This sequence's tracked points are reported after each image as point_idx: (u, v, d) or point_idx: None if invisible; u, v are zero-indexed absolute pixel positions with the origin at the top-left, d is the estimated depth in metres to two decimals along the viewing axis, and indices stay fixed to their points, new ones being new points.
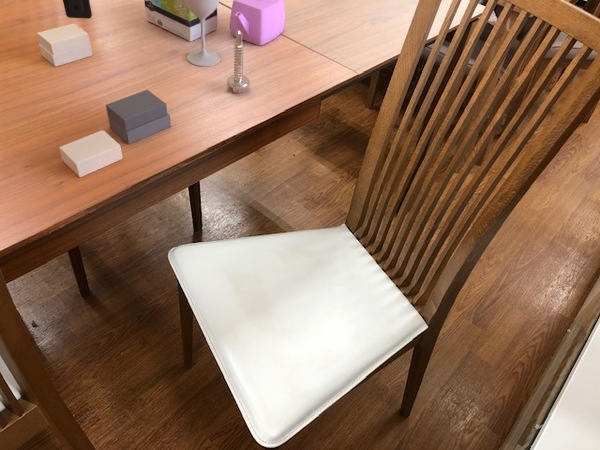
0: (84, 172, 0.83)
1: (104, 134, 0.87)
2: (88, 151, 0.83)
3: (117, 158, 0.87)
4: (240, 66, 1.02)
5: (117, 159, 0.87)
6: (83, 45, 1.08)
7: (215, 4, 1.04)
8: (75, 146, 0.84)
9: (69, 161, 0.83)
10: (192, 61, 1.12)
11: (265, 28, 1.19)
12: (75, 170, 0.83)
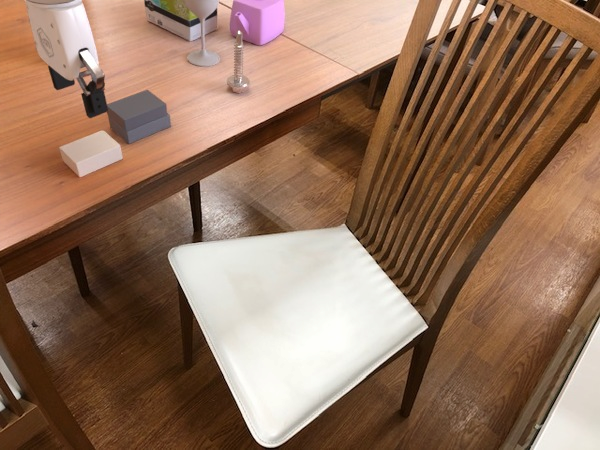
0: (84, 172, 0.83)
1: (104, 134, 0.87)
2: (88, 151, 0.83)
3: (117, 158, 0.87)
4: (240, 66, 1.02)
5: (117, 159, 0.87)
6: None
7: (215, 4, 1.04)
8: (75, 146, 0.84)
9: (69, 161, 0.83)
10: (192, 61, 1.12)
11: (265, 28, 1.19)
12: (75, 170, 0.83)
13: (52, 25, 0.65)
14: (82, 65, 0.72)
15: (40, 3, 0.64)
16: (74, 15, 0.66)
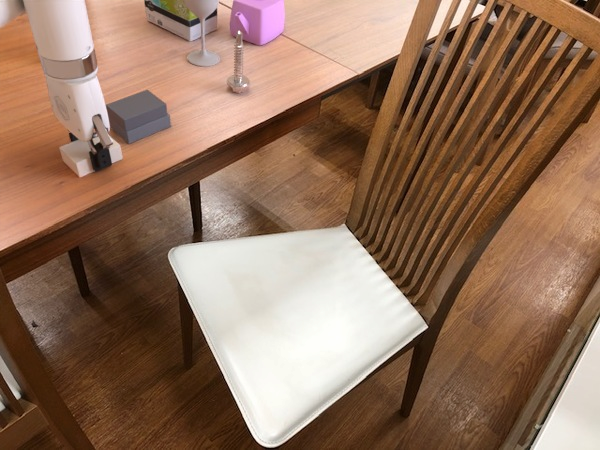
0: (84, 172, 0.83)
1: None
2: (88, 151, 0.83)
3: (117, 158, 0.87)
4: (240, 66, 1.02)
5: (117, 159, 0.87)
6: None
7: (215, 4, 1.04)
8: (75, 146, 0.84)
9: (69, 161, 0.83)
10: (192, 61, 1.12)
11: (265, 28, 1.19)
12: (75, 170, 0.83)
13: (69, 96, 0.73)
14: None
15: (59, 78, 0.72)
16: (89, 87, 0.73)
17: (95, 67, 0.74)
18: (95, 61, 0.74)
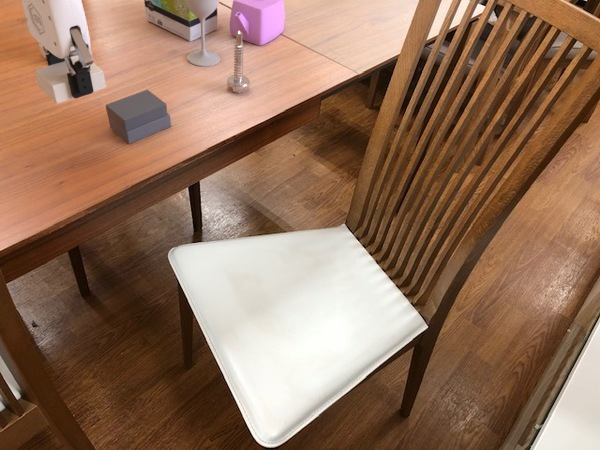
0: (61, 98, 0.75)
1: None
2: None
3: (100, 86, 0.78)
4: (240, 66, 1.02)
5: (99, 87, 0.78)
6: None
7: (215, 4, 1.04)
8: (52, 69, 0.76)
9: (45, 85, 0.74)
10: (192, 61, 1.12)
11: (265, 28, 1.19)
12: (51, 96, 0.75)
13: (43, 1, 0.65)
14: None
15: None
16: None
17: None
18: None
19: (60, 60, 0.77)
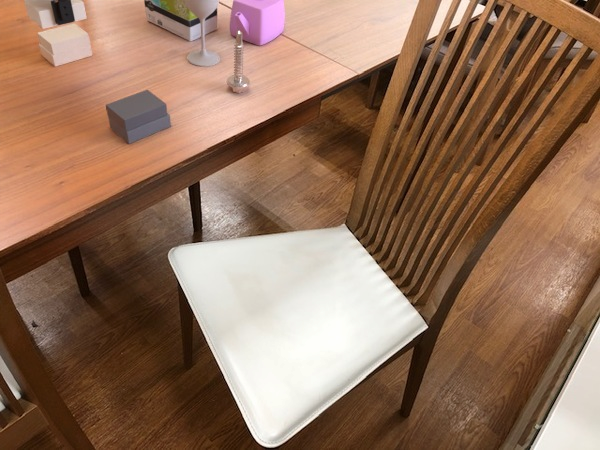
0: (46, 24, 0.86)
1: None
2: None
3: (81, 16, 0.90)
4: (240, 66, 1.02)
5: (80, 17, 0.90)
6: (83, 45, 1.08)
7: (215, 4, 1.04)
8: (39, 0, 0.87)
9: (33, 13, 0.86)
10: (192, 61, 1.12)
11: (265, 28, 1.19)
12: (38, 22, 0.86)
13: None
14: None
15: None
16: None
17: None
18: None
19: None
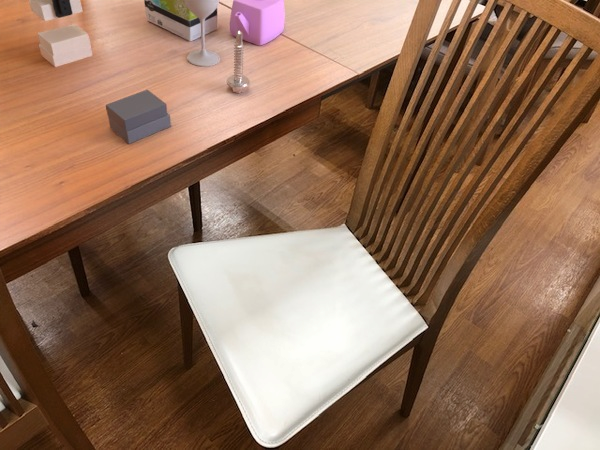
0: (48, 17, 0.99)
1: None
2: None
3: (77, 10, 1.03)
4: (240, 66, 1.02)
5: (77, 11, 1.03)
6: (83, 45, 1.08)
7: (215, 4, 1.04)
8: None
9: (36, 7, 0.99)
10: (192, 61, 1.12)
11: (265, 28, 1.19)
12: (41, 15, 0.99)
13: None
14: None
15: None
16: None
17: None
18: None
19: None
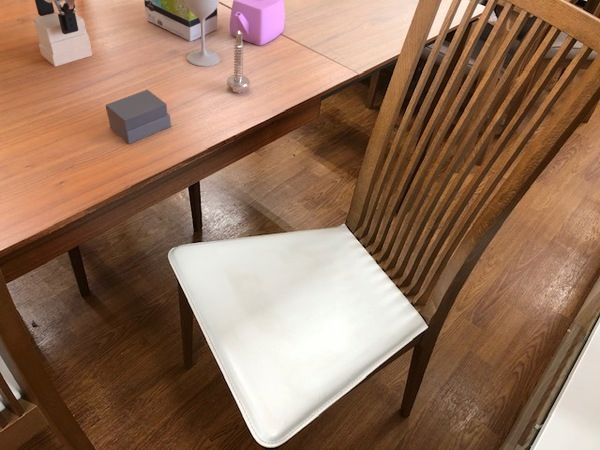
0: (53, 39, 1.02)
1: None
2: (57, 22, 1.03)
3: (82, 31, 1.06)
4: (240, 66, 1.02)
5: (81, 32, 1.06)
6: (83, 45, 1.08)
7: (215, 4, 1.04)
8: (46, 18, 1.03)
9: (42, 29, 1.02)
10: (192, 61, 1.12)
11: (265, 28, 1.19)
12: (46, 37, 1.02)
13: None
14: None
15: None
16: None
17: None
18: None
19: (45, 1, 1.04)
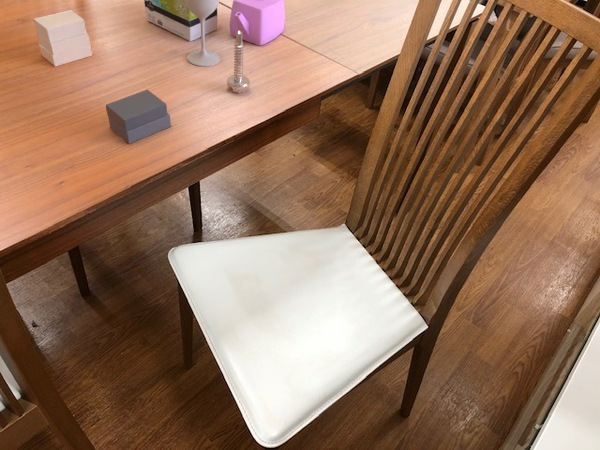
0: (53, 39, 1.02)
1: (71, 12, 1.06)
2: (57, 22, 1.03)
3: (82, 31, 1.06)
4: (240, 66, 1.02)
5: (81, 32, 1.06)
6: (83, 45, 1.08)
7: (215, 4, 1.04)
8: (46, 18, 1.03)
9: (42, 29, 1.02)
10: (192, 61, 1.12)
11: (265, 28, 1.19)
12: (46, 37, 1.02)
13: None
14: None
15: None
16: None
17: None
18: None
19: None
